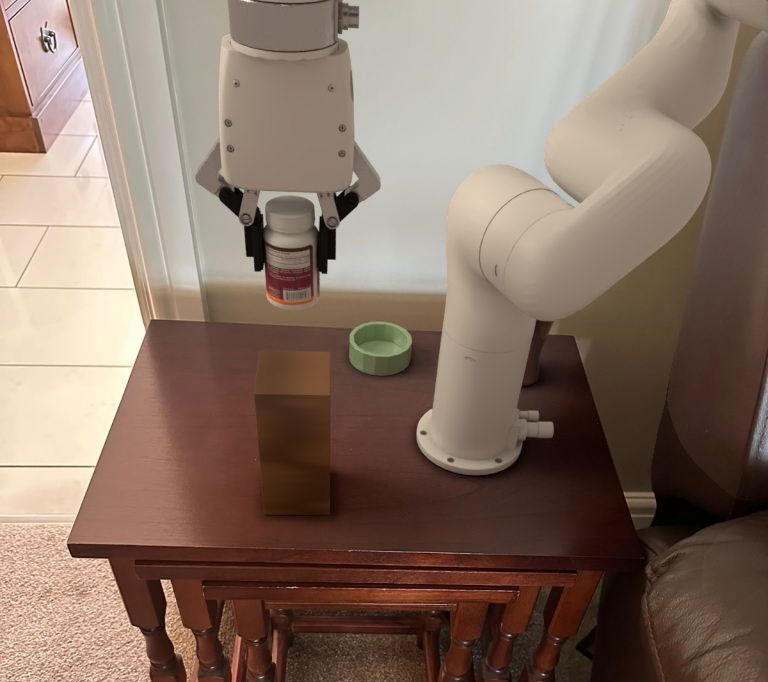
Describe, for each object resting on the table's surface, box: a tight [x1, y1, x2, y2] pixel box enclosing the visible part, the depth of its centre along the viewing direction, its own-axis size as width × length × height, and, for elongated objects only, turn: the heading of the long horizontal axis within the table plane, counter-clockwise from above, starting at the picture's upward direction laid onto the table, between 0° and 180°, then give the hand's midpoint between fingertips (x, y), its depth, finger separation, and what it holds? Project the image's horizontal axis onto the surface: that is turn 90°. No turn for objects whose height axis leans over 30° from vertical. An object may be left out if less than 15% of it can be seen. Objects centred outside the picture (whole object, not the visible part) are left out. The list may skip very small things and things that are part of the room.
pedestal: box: [253, 350, 332, 516], centre depth 80 cm, size 7×7×16 cm
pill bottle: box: [262, 194, 321, 312], centre depth 66 cm, size 5×5×8 cm
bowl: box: [348, 321, 413, 377], centre depth 103 cm, size 8×8×3 cm
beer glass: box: [521, 319, 555, 387], centre depth 98 cm, size 7×7×15 cm
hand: (291, 263), depth 67 cm, fingers closed on pill bottle, 4 cm apart
